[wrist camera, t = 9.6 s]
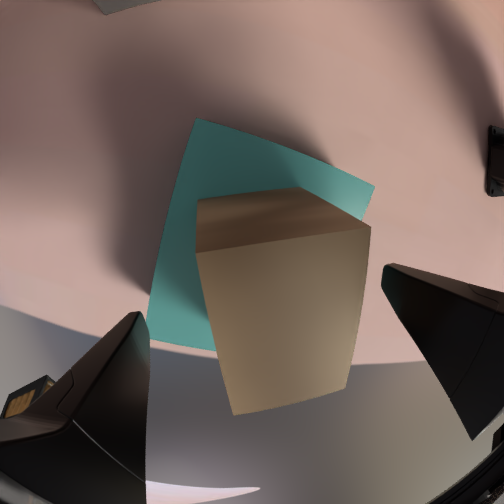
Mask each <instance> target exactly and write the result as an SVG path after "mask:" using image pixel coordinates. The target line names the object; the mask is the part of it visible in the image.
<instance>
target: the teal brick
mask: <svg viewBox="0 0 504 504" xmlns="http://www.w3.org/2000/svg"><path fill="white" fill-rule="evenodd" d="M293 187H302V188H304V189H305V190H307V191H309V192H311V193H313V194H315V195H317V196H318V197H320V198H322V199H324V200H326V201H327V202H329V203H331V204H333V205H335V206H336V207H338V208H340V209H342V210H343V211H345V212H347V213H349V214H350V215H352V216H354V217H355V218H357V219H359V220H360V221H362V218H363V216H364V213H365V211H366V208H367V206H368V204H369V201H370V198H371V196H372V193H373V191H374V188H375V186H373V185H371V184H369V183H367V182H365V181H363V180H361V179H359V178H357V177H355V176H353V175H351V174H348V173H346V172H344V171H342V170H340V169H338V168H335V167H333V166H331V165H329V164H326V163H324V162H322V161H319V160H317V159H315V158H312V157H310V156H307V155H305V154H302V153H300V152H297V151H295V150H292V149H290V148H287V147H285V146H282V145H279V144H277V143H274V142H271V141H268V140H266V139H263V138H260V137H257V136H254V135H251V134H248V133H245V132H242V131H239V130H236V129H233V128H230V127H226V126H223V125H220V124H216V123H213V122H210V121H206V120H202V119H199V118H196V119H195V122H194V125H193V128H192V131H191V134H190V137H189V140H188V143H187V146H186V149H185V153H184V156H183V159H182V162H181V166H180V169H179V173H178V176H177V180H176V183H175V187H174V190H173V194H172V198H171V202H170V205H169V209H168V213H167V217H166V221H165V226H164V230H163V234H162V238H161V243H160V247H159V252H158V257H157V262H156V267H155V272H154V277H153V282H152V288H151V293H150V299H149V305H148V312H147V318H146V324H147V327H148V330H149V334H150V339H153V340H157V341H162V342H167V343H172V344H177V345H182V346H187V347H193V348H199V349H205V350H211V351H216V347H215V343H214V339H213V335H212V330H211V326H210V322H209V317H208V313H207V308H206V304H205V299H204V294H203V290H202V285H201V280H200V275H199V270H198V265H197V259H196V254H195V248H196V219H197V200H198V199H204V198H211V197H218V196H225V195H232V194H240V193H248V192H256V191H264V190H273V189H283V188H293Z"/></svg>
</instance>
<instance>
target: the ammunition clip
mask: <svg viewBox="0 0 504 504" xmlns="http://www.w3.org/2000/svg"><path fill="white" fill-rule="evenodd" d="M55 383H56V382H55V381H54V380H52V379H51V378H50V377H49V376H48V375H45V376H43V377H41V378H39V379H37V380H36V381H34V382H32V383H30V384H28V385H26V386H24V387H22V388H20V389H18V390H16V391H15V392H13V393H11V394H9V396H8V398H7V401H6V403H5V405H4V408H3V411H2V413H1V415H0V419H8V418H12V417H15V416H17V415H18V414H20V413H21V412H22V411H24V410H25V409H26V408H27V407H28V406H29V405H31V404H32V403H33V402H34V401H35V400H36V399H38V398H39V397H40V396H41V395H42V394H43V393H45V392H46V391H47V390H48V389H49V388H50V387H51V386H53V385H54V384H55Z"/></svg>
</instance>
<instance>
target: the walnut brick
mask: <svg viewBox="0 0 504 504" xmlns="http://www.w3.org/2000/svg"><path fill="white" fill-rule="evenodd" d="M370 235H371V227H370V226H369V225H367V224H365V223H364V222H362V221H360V220H359V219H357V218H355V217H354V216H352V215H350V214H349V213H347V212H345V211H343V210H342V209H340V208H338V207H336V206H335V205H333V204H331V203H329V202H327V201H326V200H324V199H322V198H320V197H318V196H317V195H315V194H313V193H311V192H309V191H307V190H305V189H304V188H302V187H293V188H283V189H273V190H264V191H256V192H248V193H240V194H232V195H225V196H218V197H211V198H204V199H198V200H197V219H196V248H195V254H196V259H197V265H198V270H199V275H200V280H201V285H202V290H203V294H204V299H205V304H206V308H207V313H208V317H209V322H210V326H211V330H212V335H213V339H214V343H215V347H216V351H217V355H218V359H219V363H220V367H221V371H222V375H223V379H224V383H225V386H226V390H227V394H228V397H229V401H230V405H231V408H232V412H233V415H239V414H245V413H251V412H256V411H262V410H266V409H271V408H276V407H280V406H284V405H288V404H293V403H296V402H301V401H304V400H308V399H312V398H315V397H319V396H322V395H326V394H329V393H332V392H335V391H338V390H342V389H344V388H345V386H346V382H347V378H348V374H349V370H350V366H351V361H352V357H353V352H354V348H355V343H356V338H357V333H358V327H359V322H360V316H361V310H362V304H363V297H364V290H365V283H366V275H367V266H368V257H369V247H370Z"/></svg>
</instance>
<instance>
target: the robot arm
mask: <svg viewBox="0 0 504 504" xmlns="http://www.w3.org/2000/svg"><path fill="white" fill-rule="evenodd" d="M487 195H488V196H491V197H498V196H504V129H501V128H499V127H496V126H492V125H490V126H489V169H488V184H487ZM381 287H382V290H383V292H384V294H385V295H386V297H387V299H388V300H389V302H390V304H391V306H392V308H393V309H394V311H395V313H396V315H397V316H398V318H399V320H400V321H401V323H402V324H403V326H404V327H405V328H406V330H407V331H408V333H409V334H410V336H411V337H412V339H413V340H414V342H415V343H416V345H417V346H418V348H419V350H420V351H421V353H422V354H423V356H424V357H425V359H426V360H427V362H428V364H429V365H430V367H431V368H432V370H433V372H434V373H435V375H436V377H437V378H438V380H439V382H440V383H441V385H442V387H443V388H444V390H445V392H446V394H447V395H448V397H449V398H450V401H451V403H452V404H453V406H454V408H455V409H456V412H457V414H458V415H459V417H460V419H461V421H462V423H463V425H464V427H465V429H466V431H467V433H468V435H469V437H470V439H471V440H472V441H473V440H474V439H475V438H477V437H478V436H479V435H480V434H481V433H482V432H483V431H484V430H486V429H487V428H488V427H489V426H490V425H491V424H492V423H493V422H494V421H495V420H496V419H497V418H498V417H499V416H500V415H501V414H502V413H503V414H504V292H500V291H495V290H491V289H487V288H484V287H480V286H476V285H473V284H467V283H466V282H462V281H458V280H455V279H451V278H448V277H444V276H440V275H437V274H433V273H429V272H426V271H422V270H418V269H415V268H411V267H407V266H403V265H399V264H396V263H391V264H387V265H385V266H384V268H383V273H382V280H381ZM149 380H150V334H149V330H148V327H147V324H146V322H145V319H144V317H143V314H142V313H141V312H140V311H136V312H130V313H128V314H127V315H126V316H125V317H124V318H123V319H122V320H121V321H120V322H119V323H118V324H117V325H115V326H114V327H113V328H112V329H111V330H110V331H109V332H108V333H107V334H106V335H105V336H104V337H103V338H102V339H100V341H98V342H97V343H96V344H95V345H94V346H93V347H92V348H91V349H90V350H89V351H88V352H87V353H86V354H85V355H84V356H83V357H82V358H81V359H80V360H79V361H77V362H76V363H75V364H74V365H73V366H72V367H71V369H69V370H68V371H67V372H66V373H65V374H64V375H63V376H62V377H61V378H60V379H59V380H58V381H57V382H56V383H55V384H54V385H53V386H51V387H50V388H49V389H48V390H47V391H46V392H45V393H43V394H42V395H41V396H40V397H39V398H38V399H36V400H35V401H34V402H33V403H32V404H31V405H29V406H28V407H27V408H26V409H25V410H24V411H22V412H21V413H20V414H18V415H17V416H15V417H12V418H8V419H0V504H146V484H145V482H146V478H145V477H146V476H145V455H146V454H145V453H146V452H145V451H146V450H145V449H146V423H147V405H148V392H149ZM426 504H504V423H503V425H502V426H501V427H500V428H499V429H498V430H497V431H496V432H495V433H494V434H493V443H492V451H491V453H490V454H489V455H488V456H487V457H486V458H485V459H484V460H483V461H481V462H480V463H479V464H478V465H477V466H476V467H475V468H473V469H472V470H471V471H470V472H469V473H467V474H466V475H465V476H464V477H462V478H461V479H460V480H459V481H457V482H456V483H455V484H453V485H452V486H451V487H449V488H448V489H447V490H445V491H444V492H442V493H441V494H439V495H438V496H436V497H435V498H434V499H432V500H431V501H429V502H427V503H426Z"/></svg>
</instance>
